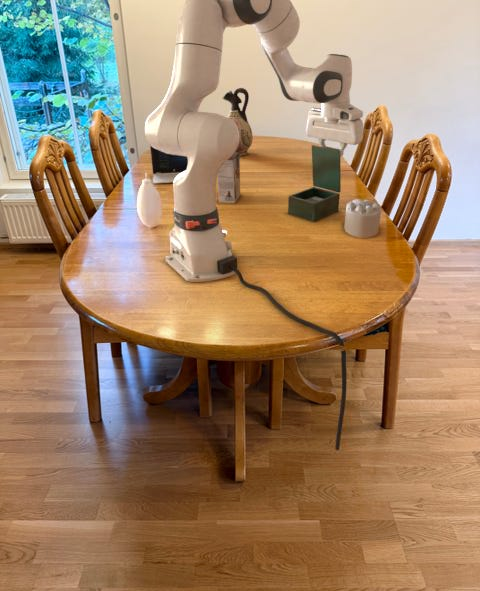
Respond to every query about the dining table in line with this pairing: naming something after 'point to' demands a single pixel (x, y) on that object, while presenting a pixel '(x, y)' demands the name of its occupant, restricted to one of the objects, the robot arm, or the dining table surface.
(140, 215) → the sauce bottle
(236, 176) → the coffee box
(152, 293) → the dining table surface
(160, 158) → the laptop
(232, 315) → the dining table surface
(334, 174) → the case lid
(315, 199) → the dark grey block
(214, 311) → the dining table surface
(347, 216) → the lumpy-topped squat cylinder
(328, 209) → the case
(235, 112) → the ceramic jug
